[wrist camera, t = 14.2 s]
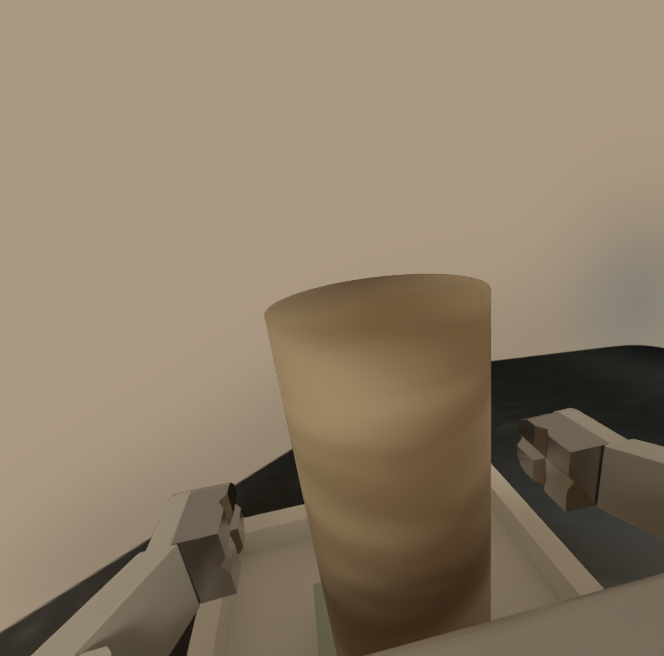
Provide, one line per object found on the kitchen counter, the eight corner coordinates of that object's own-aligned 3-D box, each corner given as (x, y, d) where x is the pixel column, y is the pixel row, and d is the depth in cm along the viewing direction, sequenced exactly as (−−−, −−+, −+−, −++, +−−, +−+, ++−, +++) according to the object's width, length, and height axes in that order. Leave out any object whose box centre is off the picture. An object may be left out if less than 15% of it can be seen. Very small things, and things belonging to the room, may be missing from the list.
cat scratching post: (356, 1027, 7) (133, 447, 3) (318, 610, 14) (247, 288, 10) (613, 929, 7) (779, 316, 3) (446, 576, 15) (429, 258, 11)
